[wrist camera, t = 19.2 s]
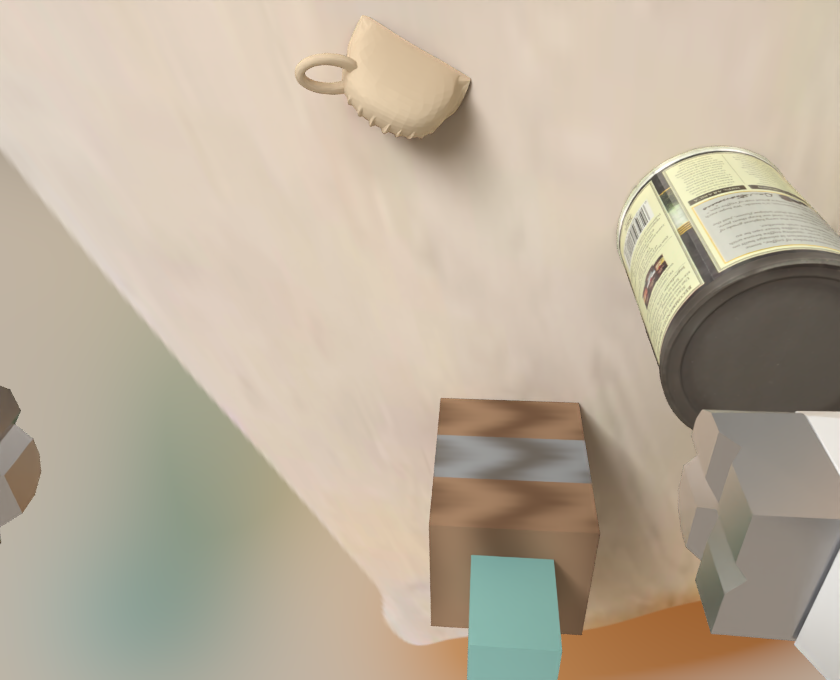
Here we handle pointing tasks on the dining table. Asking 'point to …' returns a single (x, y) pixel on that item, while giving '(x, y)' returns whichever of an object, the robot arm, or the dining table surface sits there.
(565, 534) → the taped cardboard box
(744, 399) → the coffee can
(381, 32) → the decorative ornament
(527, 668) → the teal brick
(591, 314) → the dining table surface
